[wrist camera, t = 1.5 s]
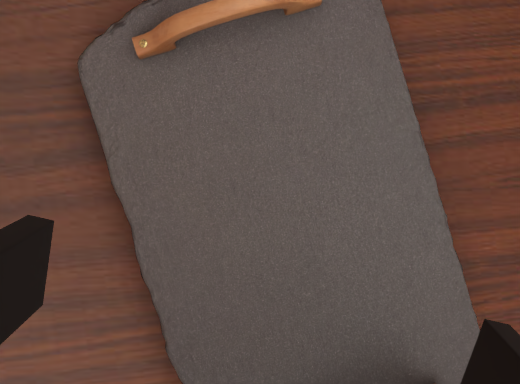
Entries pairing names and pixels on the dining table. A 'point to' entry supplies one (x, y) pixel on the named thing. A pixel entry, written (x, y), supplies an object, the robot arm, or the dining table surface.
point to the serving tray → (279, 193)
